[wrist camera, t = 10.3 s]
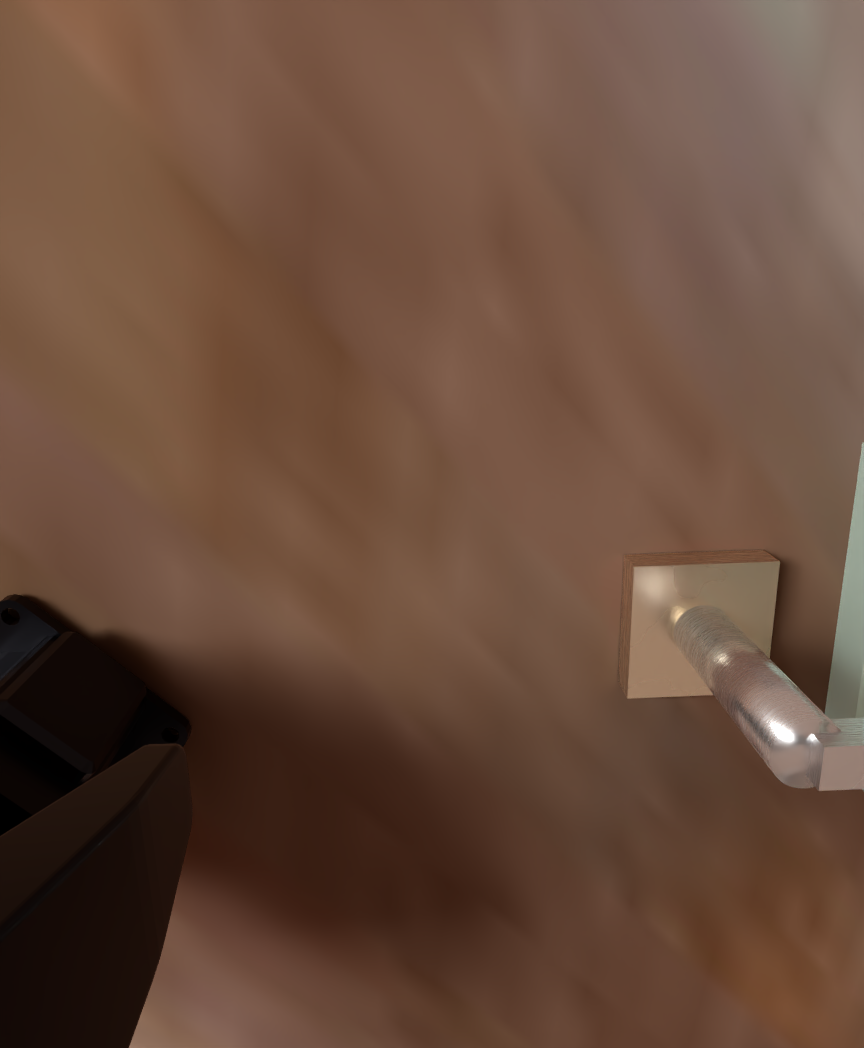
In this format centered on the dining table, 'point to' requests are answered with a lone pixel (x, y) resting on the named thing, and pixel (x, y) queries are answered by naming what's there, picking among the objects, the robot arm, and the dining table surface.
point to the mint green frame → (850, 622)
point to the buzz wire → (730, 659)
